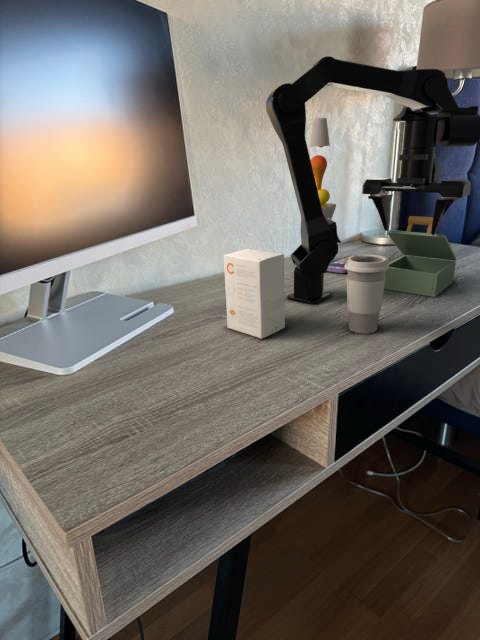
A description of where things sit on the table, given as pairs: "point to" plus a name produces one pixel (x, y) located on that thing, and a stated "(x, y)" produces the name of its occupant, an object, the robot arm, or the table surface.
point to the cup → (365, 291)
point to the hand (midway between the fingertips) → (409, 232)
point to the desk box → (419, 275)
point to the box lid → (422, 241)
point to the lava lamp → (321, 164)
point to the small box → (255, 292)
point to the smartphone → (338, 265)
